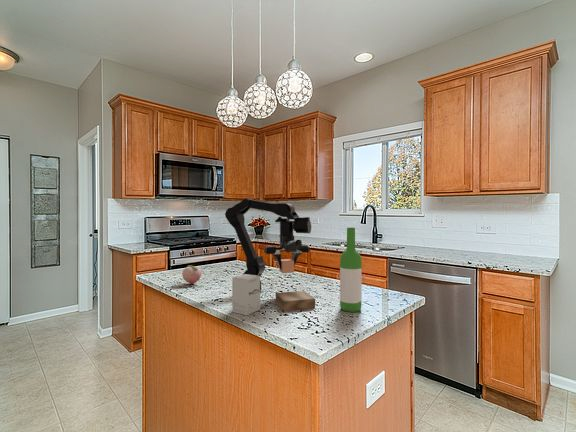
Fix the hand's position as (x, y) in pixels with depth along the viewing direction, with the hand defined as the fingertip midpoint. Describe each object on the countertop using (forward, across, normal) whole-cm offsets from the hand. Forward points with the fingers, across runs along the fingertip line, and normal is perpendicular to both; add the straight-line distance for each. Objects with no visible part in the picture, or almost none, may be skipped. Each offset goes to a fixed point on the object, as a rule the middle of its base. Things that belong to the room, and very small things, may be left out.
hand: (286, 269), depth 137 cm
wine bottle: (+11, +17, -26) cm, 33 cm away
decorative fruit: (+11, -39, +32) cm, 51 cm away
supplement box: (+11, -20, -16) cm, 28 cm away
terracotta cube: (+1, 0, 0) cm, 1 cm away
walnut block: (+12, -1, -14) cm, 18 cm away
